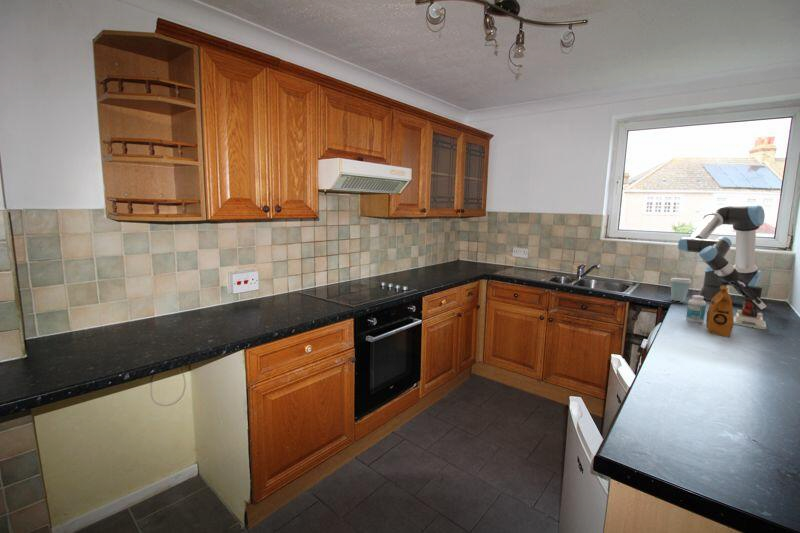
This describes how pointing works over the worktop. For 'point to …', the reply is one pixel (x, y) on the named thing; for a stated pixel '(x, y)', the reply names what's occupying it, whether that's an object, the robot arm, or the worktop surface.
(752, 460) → the worktop surface
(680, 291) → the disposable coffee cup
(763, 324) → the cream square open box
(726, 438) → the worktop surface
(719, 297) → the coffee package
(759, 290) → the deodorant
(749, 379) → the worktop surface
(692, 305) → the pill bottle
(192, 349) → the worktop surface
